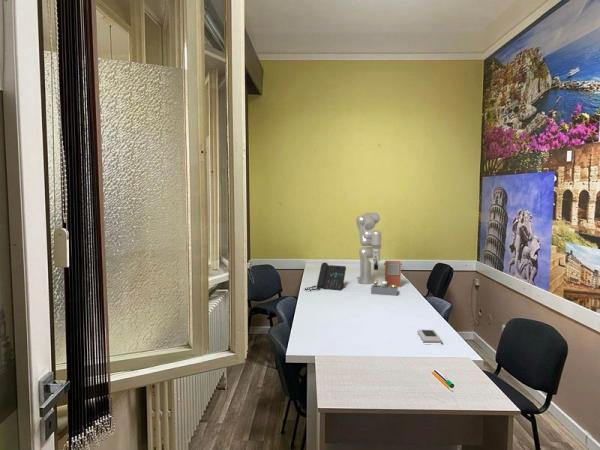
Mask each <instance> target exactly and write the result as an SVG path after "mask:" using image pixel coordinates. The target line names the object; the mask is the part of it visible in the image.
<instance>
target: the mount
mask: <svg viewBox="0 0 600 450" xmlns="http://www.w3.org/2000/svg"><path fill="white" fill-rule="evenodd" d="M398 289H399V287H398V286H396V288H391V286H386V288H385V287H383V284H381V285H380V284H377V287H374V284H372V285H371V288H370V294H371V295H378V296H379V295H382V296H398V292H399V291H398Z"/></svg>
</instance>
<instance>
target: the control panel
mask: <svg viewBox="0 0 600 450" xmlns="http://www.w3.org/2000/svg"><path fill="white" fill-rule="evenodd" d="M383 265H384V267H385V268H384V281H387V284H386V286H391V285H392V284H394V285H396V286H398V288H401V285H402V282H401V281H402V277H401V276H402V271H401V270H402V266H403V264H402V261H400V260H385V261H384V263H383Z"/></svg>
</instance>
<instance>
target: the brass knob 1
mask: <svg viewBox="0 0 600 450" xmlns="http://www.w3.org/2000/svg"><path fill="white" fill-rule="evenodd" d="M372 281H373V283H372V285H374V287H377V285H379V281H378V280H375V279H374V280H372Z"/></svg>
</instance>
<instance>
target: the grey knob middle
mask: <svg viewBox="0 0 600 450" xmlns="http://www.w3.org/2000/svg"><path fill="white" fill-rule="evenodd" d="M386 284H387V281H385V280H382V281H381V285H383V287H385V288H386Z"/></svg>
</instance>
